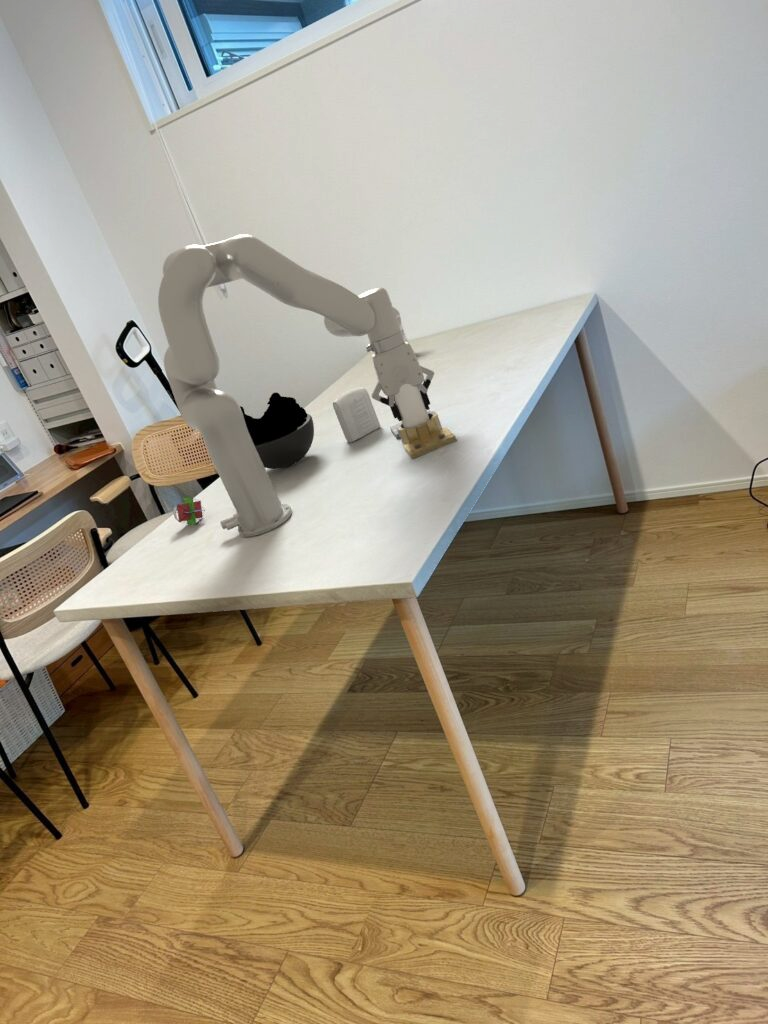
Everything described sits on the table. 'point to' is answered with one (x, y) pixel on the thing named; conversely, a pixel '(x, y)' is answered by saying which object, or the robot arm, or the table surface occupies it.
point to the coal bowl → (281, 432)
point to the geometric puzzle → (188, 511)
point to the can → (411, 406)
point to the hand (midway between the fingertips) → (413, 413)
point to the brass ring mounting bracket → (423, 436)
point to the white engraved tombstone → (355, 413)
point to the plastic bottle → (400, 324)
